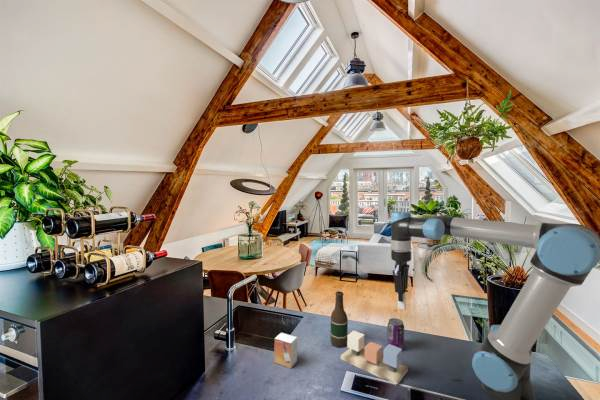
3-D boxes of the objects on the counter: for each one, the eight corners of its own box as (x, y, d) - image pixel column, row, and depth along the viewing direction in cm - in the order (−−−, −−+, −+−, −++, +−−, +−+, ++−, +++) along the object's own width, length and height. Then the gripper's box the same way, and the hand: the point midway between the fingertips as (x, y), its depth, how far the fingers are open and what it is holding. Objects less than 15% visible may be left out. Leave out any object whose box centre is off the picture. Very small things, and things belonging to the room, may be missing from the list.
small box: (273, 363, 116) (273, 338, 115) (281, 355, 121) (281, 331, 120) (290, 369, 112) (291, 343, 112) (297, 361, 117) (297, 336, 117)
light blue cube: (401, 361, 110) (402, 348, 110) (396, 368, 106) (396, 355, 106) (388, 356, 113) (389, 343, 113) (383, 362, 109) (383, 349, 109)
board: (407, 370, 112) (408, 357, 111) (396, 385, 103) (397, 371, 103) (353, 347, 127) (354, 335, 127) (340, 359, 119) (340, 346, 118)
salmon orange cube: (382, 358, 115) (382, 346, 115) (376, 364, 111) (376, 351, 111) (370, 353, 119) (370, 341, 118) (364, 359, 115) (364, 346, 114)
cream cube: (364, 346, 120) (364, 334, 120) (358, 351, 116) (358, 339, 116) (353, 342, 124) (353, 330, 123) (347, 347, 120) (347, 335, 120)
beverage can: (405, 352, 123) (405, 326, 123) (388, 350, 125) (388, 324, 124) (402, 344, 130) (403, 318, 130) (386, 342, 132) (387, 317, 131)
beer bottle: (328, 346, 128) (329, 294, 127) (332, 337, 135) (332, 288, 134) (346, 349, 126) (346, 296, 124) (348, 340, 133) (349, 290, 132)
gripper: (397, 246, 121) (398, 301, 122) (385, 251, 111) (386, 311, 111) (415, 248, 116) (416, 305, 117) (405, 254, 106) (405, 316, 107)
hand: (401, 308), depth 114 cm, fingers closed
